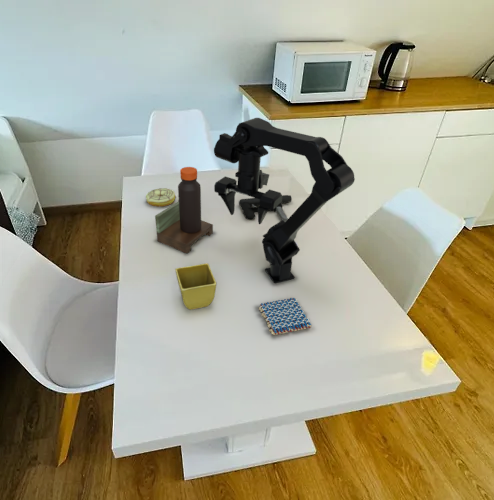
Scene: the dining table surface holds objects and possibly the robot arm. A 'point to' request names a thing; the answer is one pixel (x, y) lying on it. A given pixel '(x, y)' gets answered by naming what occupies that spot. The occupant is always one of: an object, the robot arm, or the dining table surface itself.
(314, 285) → the dining table surface
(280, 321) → the woven mat
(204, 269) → the flower pot
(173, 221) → the brown wooden stand
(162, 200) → the yellow flat round disc
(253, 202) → the black toy gun
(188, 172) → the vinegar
